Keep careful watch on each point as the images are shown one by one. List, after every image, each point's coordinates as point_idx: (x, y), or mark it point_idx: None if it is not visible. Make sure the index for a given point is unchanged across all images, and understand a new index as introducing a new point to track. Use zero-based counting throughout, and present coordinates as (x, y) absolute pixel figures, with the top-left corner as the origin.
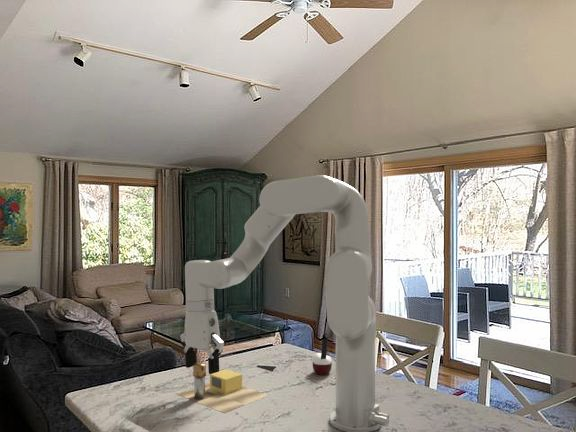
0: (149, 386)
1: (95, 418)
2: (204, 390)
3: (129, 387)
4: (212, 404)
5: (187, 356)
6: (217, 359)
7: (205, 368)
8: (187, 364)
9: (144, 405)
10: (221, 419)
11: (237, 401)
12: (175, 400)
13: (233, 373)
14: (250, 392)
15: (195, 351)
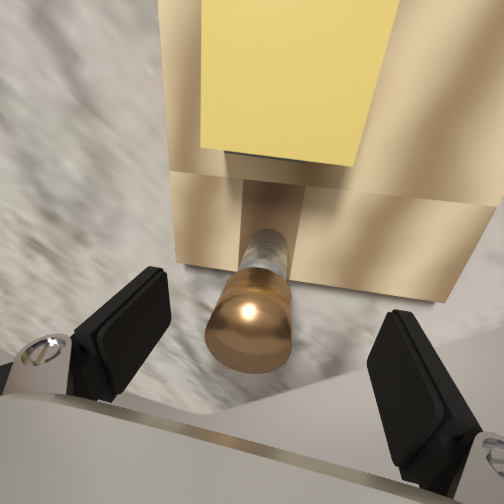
0: (33, 228)
1: (157, 399)
2: (285, 253)
3: (14, 264)
4: (355, 270)
5: (131, 379)
6: (473, 431)
7: (289, 317)
8: (160, 334)
9: None
10: (429, 303)
11: (441, 196)
12: (194, 267)
13: (325, 16)
14: (457, 47)
15: (94, 332)
